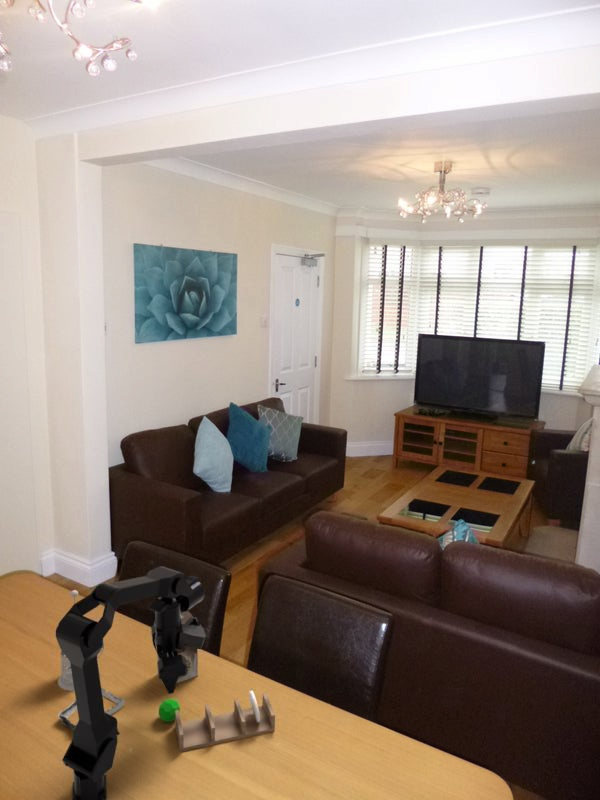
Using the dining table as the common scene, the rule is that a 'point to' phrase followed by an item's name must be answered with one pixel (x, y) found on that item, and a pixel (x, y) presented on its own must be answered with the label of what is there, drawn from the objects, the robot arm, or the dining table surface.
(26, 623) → the dining table surface
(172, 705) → the polyhedron
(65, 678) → the french press
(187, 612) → the coffee box
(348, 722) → the dining table surface
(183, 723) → the rack
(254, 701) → the saucer
